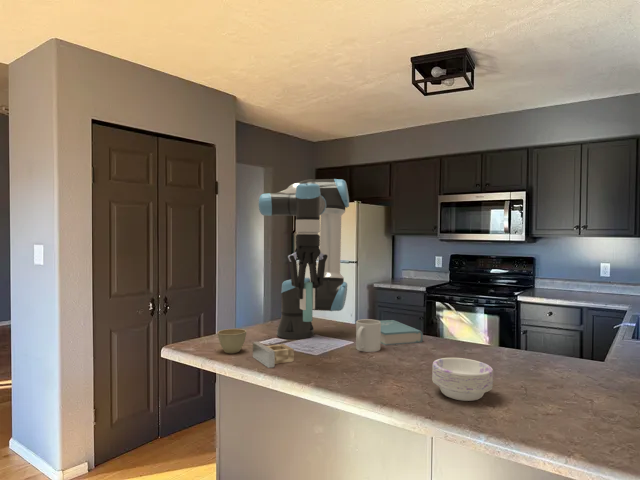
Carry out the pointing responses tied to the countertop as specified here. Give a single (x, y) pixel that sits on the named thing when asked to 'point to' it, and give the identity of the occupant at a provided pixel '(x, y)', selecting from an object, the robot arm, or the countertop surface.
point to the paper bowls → (462, 378)
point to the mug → (368, 335)
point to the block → (282, 353)
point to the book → (399, 333)
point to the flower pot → (232, 339)
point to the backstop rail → (264, 354)
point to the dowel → (308, 302)
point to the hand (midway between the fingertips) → (307, 308)
